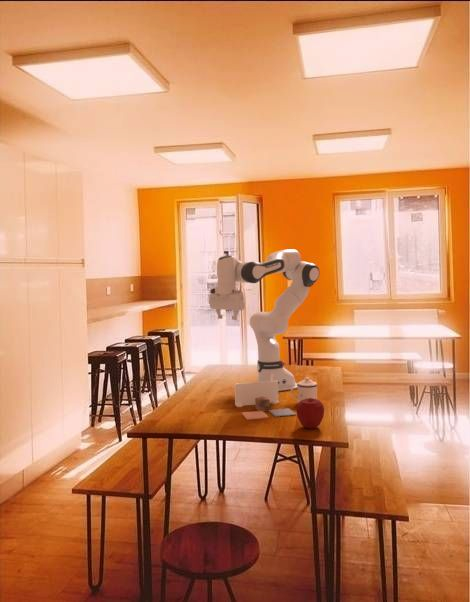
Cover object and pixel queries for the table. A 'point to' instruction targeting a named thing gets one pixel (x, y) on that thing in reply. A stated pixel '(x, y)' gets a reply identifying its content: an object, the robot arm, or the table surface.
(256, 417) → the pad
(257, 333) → the robot arm
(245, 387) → the screen
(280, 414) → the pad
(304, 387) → the teacup with lid
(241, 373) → the table surface
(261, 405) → the cube with pink top
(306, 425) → the apple
